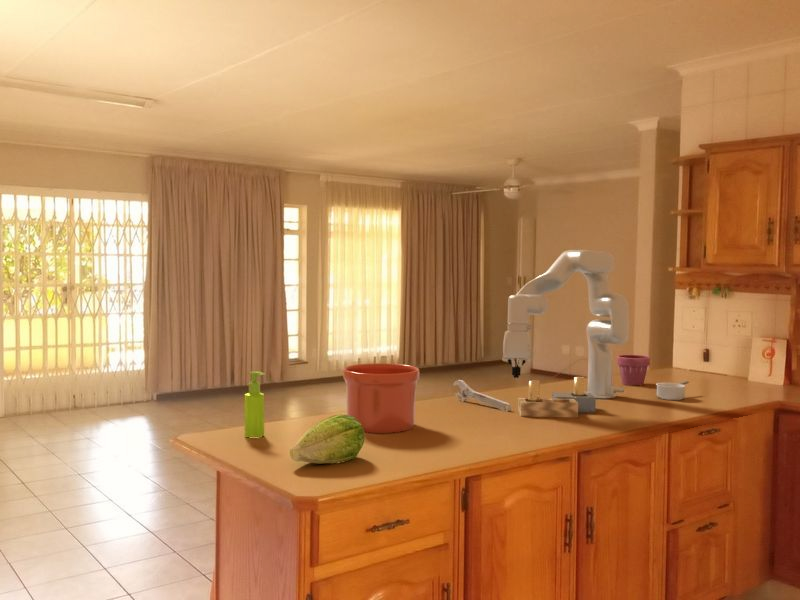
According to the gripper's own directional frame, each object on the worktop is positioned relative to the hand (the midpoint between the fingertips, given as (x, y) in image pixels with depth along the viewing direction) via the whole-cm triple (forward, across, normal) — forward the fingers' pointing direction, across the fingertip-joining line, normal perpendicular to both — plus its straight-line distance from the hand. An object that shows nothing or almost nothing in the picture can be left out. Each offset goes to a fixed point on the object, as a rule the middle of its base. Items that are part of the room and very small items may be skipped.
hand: (516, 377), depth 264 cm
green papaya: (+14, +58, +78) cm, 98 cm away
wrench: (+12, +12, -6) cm, 18 cm away
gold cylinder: (+11, -24, 0) cm, 26 cm away
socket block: (+11, -22, 0) cm, 24 cm away
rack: (+12, -11, +10) cm, 18 cm away
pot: (+13, +47, +34) cm, 60 cm away
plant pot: (+10, -60, -61) cm, 86 cm away
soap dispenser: (+14, +84, +52) cm, 100 cm away
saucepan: (+11, -69, -31) cm, 76 cm away
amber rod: (+12, -6, +10) cm, 16 cm away
